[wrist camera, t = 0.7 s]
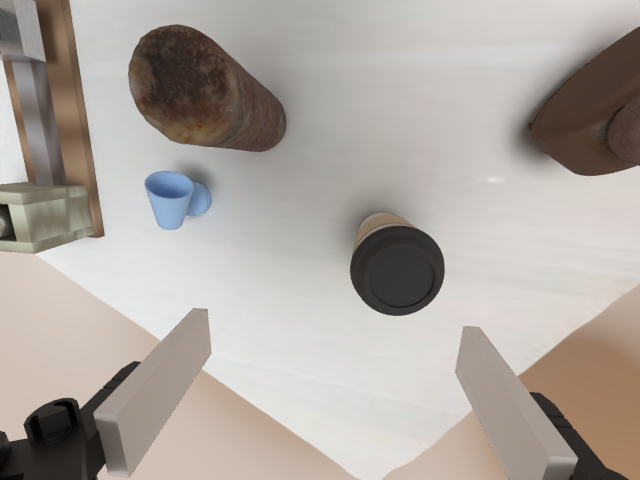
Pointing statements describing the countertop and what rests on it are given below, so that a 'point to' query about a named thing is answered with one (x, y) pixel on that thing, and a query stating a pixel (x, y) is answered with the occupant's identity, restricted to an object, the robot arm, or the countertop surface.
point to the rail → (62, 101)
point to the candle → (201, 93)
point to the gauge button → (5, 221)
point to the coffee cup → (395, 265)
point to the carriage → (20, 31)
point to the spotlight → (175, 198)
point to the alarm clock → (596, 113)
